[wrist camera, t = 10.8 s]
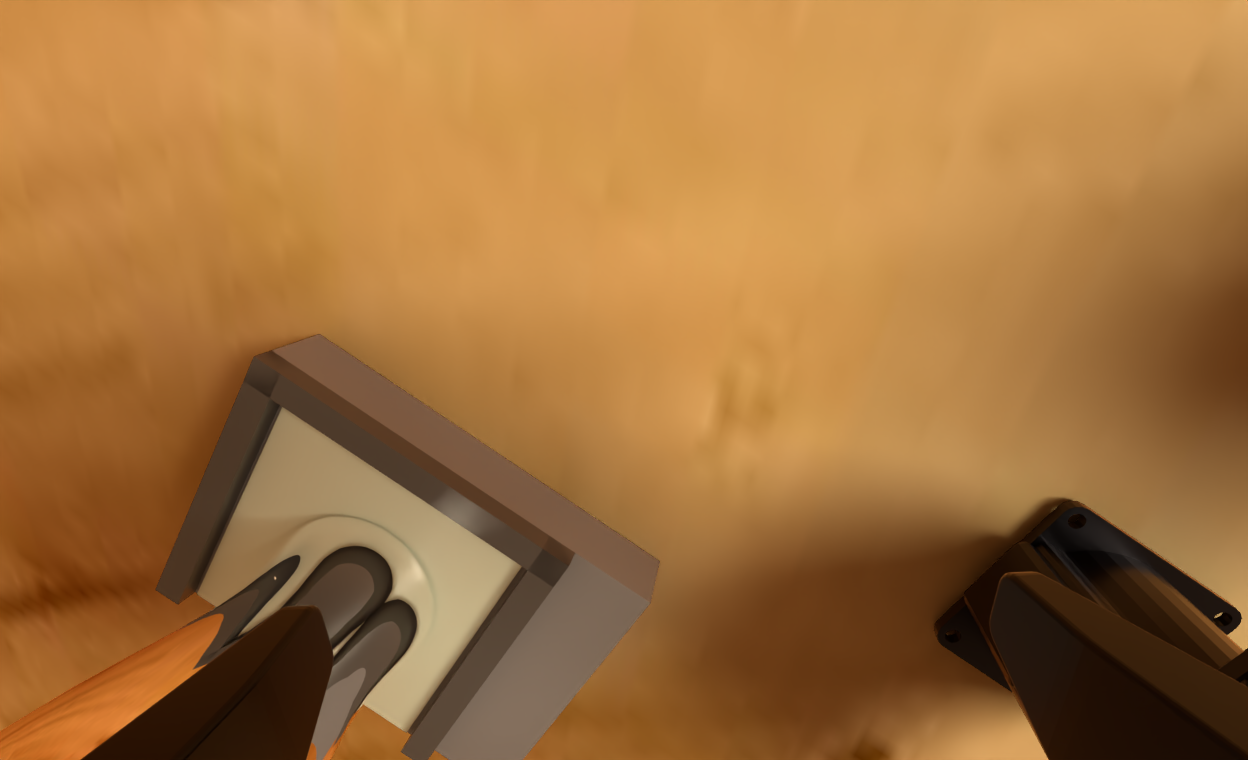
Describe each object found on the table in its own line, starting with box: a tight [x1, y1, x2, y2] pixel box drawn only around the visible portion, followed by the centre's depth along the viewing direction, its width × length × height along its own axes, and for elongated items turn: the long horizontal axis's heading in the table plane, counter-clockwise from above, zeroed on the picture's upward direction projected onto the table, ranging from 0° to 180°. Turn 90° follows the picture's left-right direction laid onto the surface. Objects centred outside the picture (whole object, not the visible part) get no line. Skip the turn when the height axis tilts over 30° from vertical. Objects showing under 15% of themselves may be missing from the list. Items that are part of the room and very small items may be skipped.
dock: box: [156, 334, 660, 760], centre depth 24 cm, size 15×11×3 cm
